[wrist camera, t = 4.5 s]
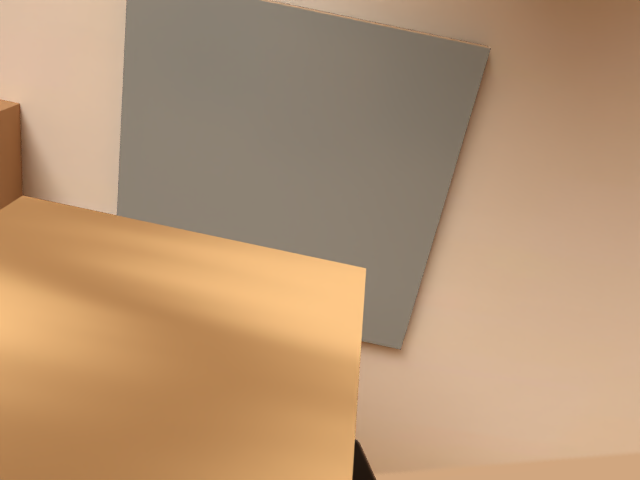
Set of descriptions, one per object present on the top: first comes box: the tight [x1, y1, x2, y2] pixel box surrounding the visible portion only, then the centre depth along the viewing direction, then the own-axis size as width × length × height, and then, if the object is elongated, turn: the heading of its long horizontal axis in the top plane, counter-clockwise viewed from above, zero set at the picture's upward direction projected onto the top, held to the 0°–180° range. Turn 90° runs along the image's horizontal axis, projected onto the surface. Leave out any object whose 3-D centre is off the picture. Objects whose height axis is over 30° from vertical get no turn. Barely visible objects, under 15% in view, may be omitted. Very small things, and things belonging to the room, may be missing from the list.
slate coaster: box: [117, 0, 491, 349], centre depth 19 cm, size 10×10×1 cm
